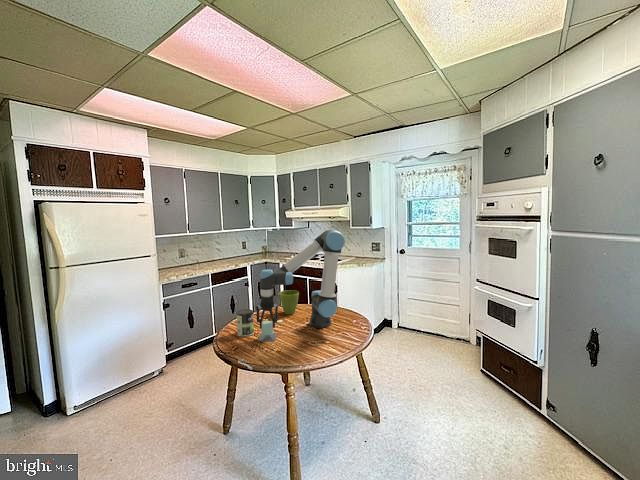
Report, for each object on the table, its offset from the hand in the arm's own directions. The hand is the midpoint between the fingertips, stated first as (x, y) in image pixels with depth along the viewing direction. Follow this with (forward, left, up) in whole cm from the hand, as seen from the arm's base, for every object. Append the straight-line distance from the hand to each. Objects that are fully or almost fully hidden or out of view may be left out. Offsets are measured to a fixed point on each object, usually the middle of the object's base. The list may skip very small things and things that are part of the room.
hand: (267, 332), depth 182 cm
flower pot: (-11, -46, -3) cm, 47 cm away
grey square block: (0, 0, -3) cm, 3 cm away
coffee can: (+15, -8, -3) cm, 17 cm away
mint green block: (0, 0, 0) cm, 0 cm away
